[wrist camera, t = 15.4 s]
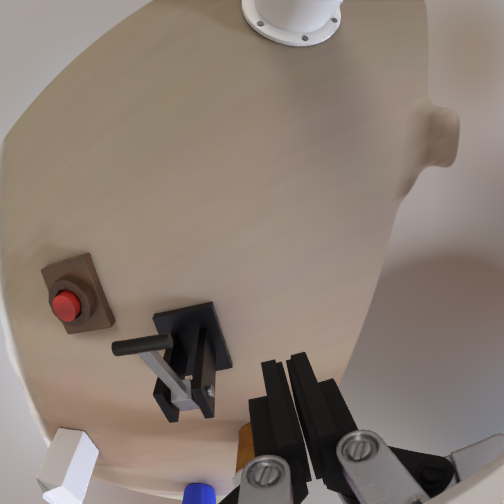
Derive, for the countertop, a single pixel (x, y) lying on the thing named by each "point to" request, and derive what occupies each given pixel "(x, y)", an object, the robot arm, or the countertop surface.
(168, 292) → the countertop surface
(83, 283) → the button block
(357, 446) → the robot arm
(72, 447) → the milk carton
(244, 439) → the disposable coffee cup
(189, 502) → the mug
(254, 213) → the countertop surface
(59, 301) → the button
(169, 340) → the lever
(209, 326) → the black lever base
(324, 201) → the countertop surface
